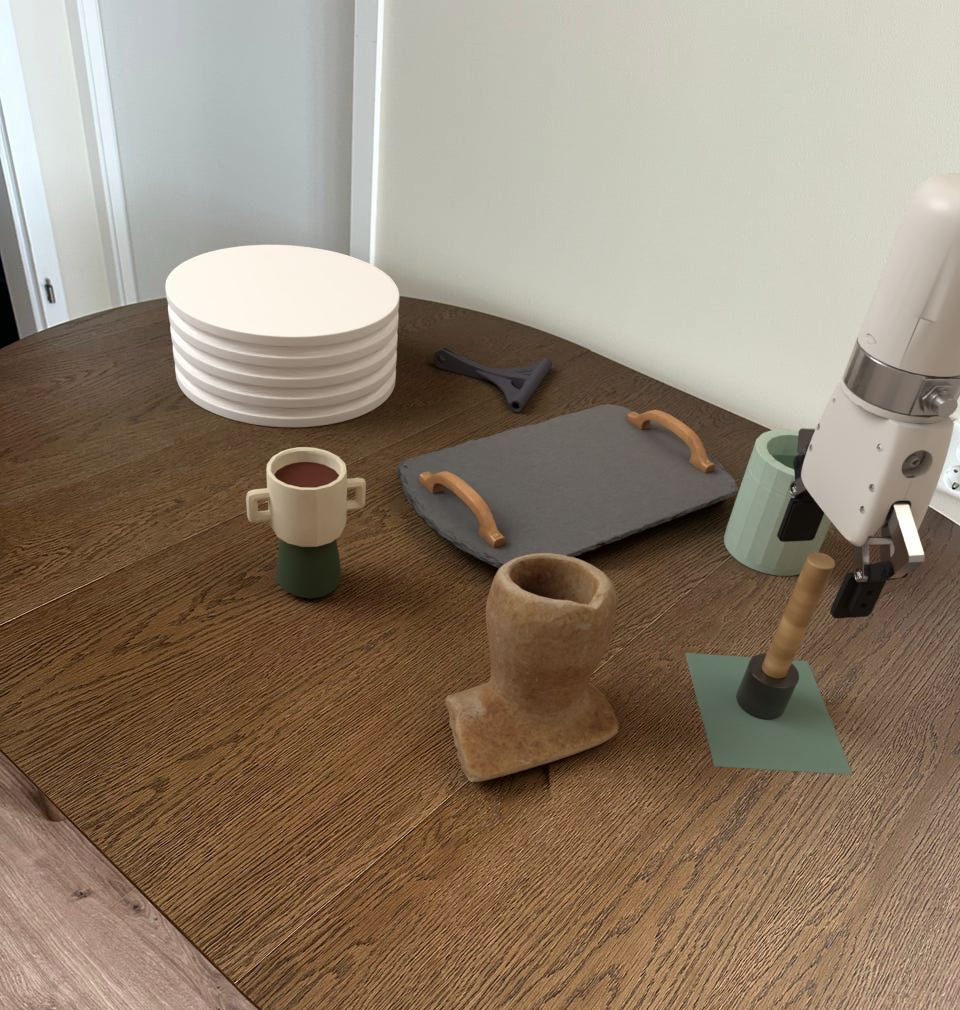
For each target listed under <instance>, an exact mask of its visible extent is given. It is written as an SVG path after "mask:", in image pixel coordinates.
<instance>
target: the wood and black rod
mask: <svg viewBox="0 0 960 1010" xmlns="http://www.w3.org/2000/svg"><path fill="white" fill-rule="evenodd" d="M835 567H836V561H835V560H834V558H833V557H831V556H830V555H828V554H826V553H824V552H820V551H819V552H813V553H810V554H809V555H808V556H807V559H806V561H805V563H804V566H803V568H802V571H801V573H800V574H798V575H799V576H798V578H797V580H796V583H795V585H794V587H793V590H792V592H791V595H790V597H789V599H788V602H787V603H786V606H785V609H784V612H783V614H782V617H781V618H780V622H779V623H778V626H777V627H776V631H775V632H774V635H773V637H772V640H771V641H770V642H771V643H770V645H769V648H768V650H767V652H764V653H758V654H755V655H754V656H752V658H751V660H750V661H749V664H748V666H747V669H746V671H745V674H744V676H743V679H742V681H741V684H740V686H739V689H738V691H737V694H736V699H737V702H738V704H739V706H740V707H741V708H742V709H743V710H744V711H745V712H746V713H748V714H749V715H751V716H753V717H756V718H759V719H764V720H772V719H776V718H779V717H780V716H781V715H782V714H783V713H784V711H785V709H786V707H787V705H788V702H789V700H790V698H791V696H792V694H793V692H794V689H795V687H796V685H797V683H798V681H799V673H798V670H797V669H796V667H795V666H794V665H793V664H792V661H793V660H794V659H795V657H796V655H797V653H798V650H799V648H800V646H801V643H802V641H803V639H804V636H805V634H806V633H807V630H808V627H809V626H810V623H811V621H812V619H813V616H814V614H815V611H816V610H817V608H818V606H819V603H820V601H821V599H822V596H823V593H824V592H825V589H826V587H827V585H828V583H829V581H830V578H831V576H832V574H833V572H834V570H835Z"/></svg>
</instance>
